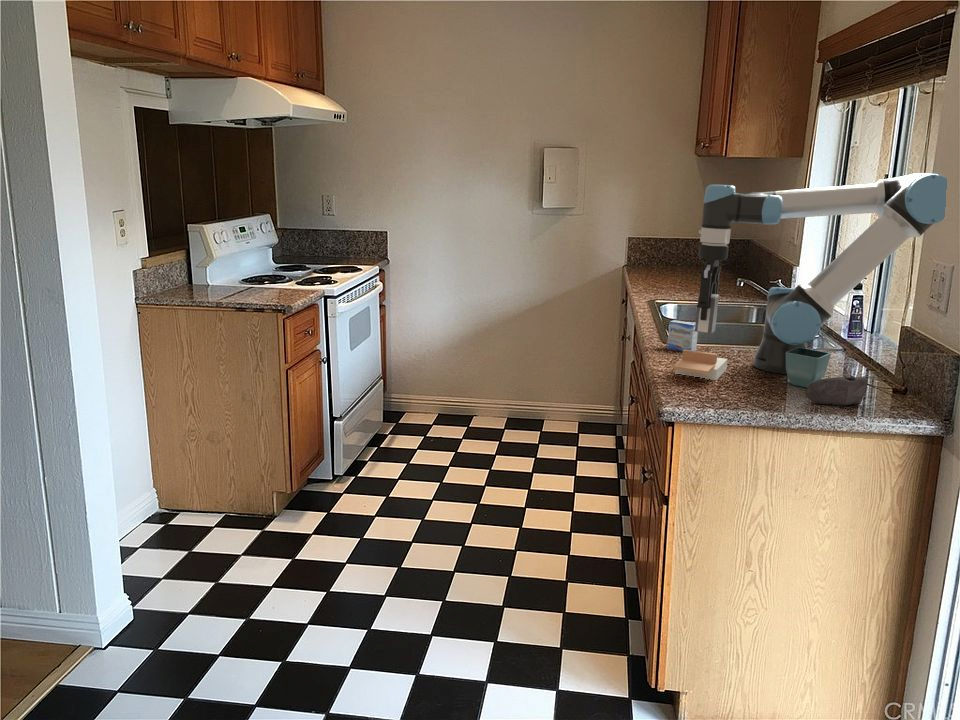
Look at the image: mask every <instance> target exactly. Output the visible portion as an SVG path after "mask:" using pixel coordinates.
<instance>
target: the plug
mask: <svg viewBox="0 0 960 720" xmlns="http://www.w3.org/2000/svg"><path fill="white" fill-rule="evenodd" d="M719 297H720V295H719V294H712V295H711V302H710V308H711V309H710V318H709V328H708V333H707V332H702V333H704V334H713V333H714V332H716V324H717V317H718V316H717V315H718V307H719V299H720V298H719ZM698 303H699V294H698V296H697V304H698ZM699 311H700V308H698V307H697V306H696V314H695V315H696V316H695V323H696V324H695V332H698V333H700V332H699V331H697V329H698V320H699Z"/></svg>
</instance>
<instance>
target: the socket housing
mask: <svg viewBox="0 0 960 720" xmlns="http://www.w3.org/2000/svg"><path fill="white" fill-rule="evenodd" d="M680 360H682V358H681V359H680ZM678 362H679V361H677V362H676V363H675V364H677V363H678ZM727 367H728V358H722V357H717V363H716V364H715V368H714V369H713V370H712V371H710V372H709V373H708V374H702V373H696V372H689V371H682V370H676V369H674V375H676V374H682V375H689V376H694V377H693V378H695V377H700V378H699V379H702V378H705V379H704V380H709V379H710V381H717V380H718V379H719V378H720V377H721V376H722V375H723V374H724V373H725V372H726V371H727ZM682 375H681V376H682ZM689 376H688V377H689Z"/></svg>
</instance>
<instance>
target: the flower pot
mask: <svg viewBox="0 0 960 720" xmlns="http://www.w3.org/2000/svg"><path fill="white" fill-rule="evenodd" d="M831 356H832V354H831V352H827V351H821V350H818V349H811V348H808V347H807V348H801V347H797V348H795V349H792V350H790V351H787V352H786V373H787V374H786V377H787V378H788V381H789V382H790V385H792V386H797V387H802V388H806V389H807V388H808V386H809V385H810V384H812V383H814V382H816V381H818V380H822V379H824V378H823V377H824V376H825V374H826V372H827V369H828V365H829V363H830V358H831Z"/></svg>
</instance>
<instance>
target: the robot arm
mask: <svg viewBox="0 0 960 720" xmlns="http://www.w3.org/2000/svg"><path fill="white" fill-rule="evenodd" d="M942 175H943V174H940V173H937V172H927V173H924V172H918V173H917V172H915V173H912V174H907V175H906V174H905V175H903V176H898V177H892V178H883V179H879V180H877V181H876V182H875V183H868V184H867V183H866V184H854V185H853V184H851V185H841V186H838V185H837V186H827V187H825V186H824V187H815V188H814V187H812V188H801V189H799V188H798V189H788V190H776V191H775V190H774V191H760V192H758V191H752V192H751V191H750V192H749V193H739V192H736V186H734V185H733V184H732V185H731V184H730V185H729V184H709V185H708V186H706V188H705V193H704V197H703V198H704V199H703V209H702V219H701V229H699V230H698V234H700V237H699V241H700V244H699V247H698V259H700V260H701V259H702V260H705V262H704V263H705V264H704V265H702V269H701V271H700V274H701V275H700V277H701V278H700V284H699V285H700V286H699V294H698V295H699V303H698V302H697V304H696V308H697V307H698V308H700V311H699V320H698V329H697V331H699V332H698V333H703V332H707V333H706V334H709V333H708V328H709V318H710V309H711V308H710V302H711V295H712V294H718V292H719V286H720V284H719V283H720V275H721V270H722V265H720V261H726V260H727V259H728V257H729V256H728V255H729V244H730V239H731V233H732V232H731V231H732V229H731V228H732V223H740V224H742V223H743V224H755V225H765V226H766V225H778V224H779V223H780V221H781V219H792V218H793V219H795V218H810V217H811V218H812V217H827V216H829V217H831V216H842V215H843V216H845V215H847V216H848V215H861V214H876V215H877V216H878V218H877V219H876V220H875V221H874V222H873V223H872V224H871V225H869V226H868V227H867V228H866V229H865V231H863V232H862V233H861V234H860V235H859V236H858V237H857V238H856V239H855V240H853V241H852V242H851V244H849V245H848V246H847V247H846V248H845V249H844V250H843V251H842V252H841V253H840V254H839V255H837V256H836V258H835V259H833V260H832V261H831V262H830V263H829V264H828V265H827V266H826V267H824V269H822V270H821V271H820V272H819V273H818V274H817V275H816V276H815V277H814V278H813V279H812V280H811V281H810V282H808V283H799V284H798V285H797V286H796V287H794V288H791V287H778V286H777V287H776V286H773V287H770V289H769V290H768V293H767V296H766V299H767V300H766V301H767V302H766V311H765V319H764V326H763V332H762V333H763V334H762V340H761V342H760V344H759V346H758V348H757V350H756V353H755V354H754V357H753V360H752V361H753V363H752V365H753V367H755V368H757V369H759V370H762V371H764V372H765V371H766V372H768V373H776V374H781V375H782V374H783V375H787V373H786V352H787V351H790V350H792V349H795V348H797V347H801V348H807V349H808V346H807V344H808V343H809V342H811V341H812V340H813V339H815V338H816V337H817V335H818V334H819V332H820V329H821V326H823V325H824V324H825V323H826V322H827V321H829V319H830V318H832V317H833V315H834V307H835V306H836V305H837V304H838V303H839V302H840V301H841V300H843V298H845V297H846V296H847V295H848V294H849V293H850V292H851V291H853V289H854V288H856V286H858V285H859V284H860V283H861V282H862V281H863V280H865V278H867V276H869V275H870V274H871V273H872V272H873V271H875V269H877V268H878V266H880V265H881V264H882V263H884V261H886V259H887V258H888V257H890V256H891V255H892V254H893V253H894V252H895V251H896V250H898V248H900V247H901V246H902V245H903V244H904V243H905V242H906V241H907V240H909V239H910V238H920V237H921V236H922V235H924V233H925V232H926V231H928V230H929V229H930V228H931V227H932V226H933V225H934V224H938V223H940V222H943V221H944V220H945V219H944V217H945V207H946V190H947V178H948V177H947V178H946V176H944V175H943V176H942ZM942 220H943V221H942ZM718 295H719V294H718Z"/></svg>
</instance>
